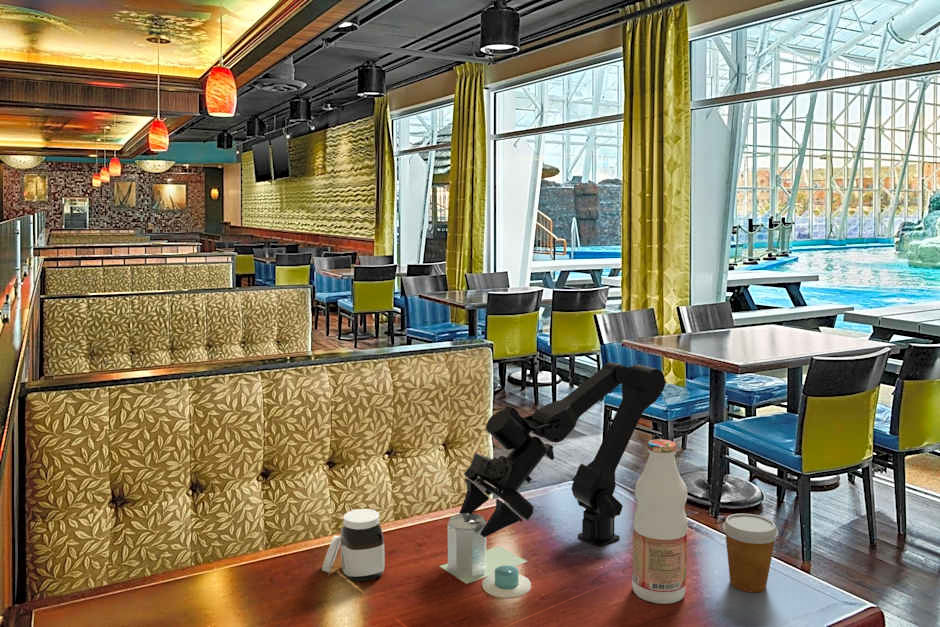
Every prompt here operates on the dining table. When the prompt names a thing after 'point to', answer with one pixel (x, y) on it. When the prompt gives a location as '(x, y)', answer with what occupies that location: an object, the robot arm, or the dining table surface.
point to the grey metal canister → (466, 545)
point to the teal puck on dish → (506, 583)
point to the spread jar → (359, 546)
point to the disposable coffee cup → (749, 550)
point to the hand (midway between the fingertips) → (470, 527)
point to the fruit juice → (660, 528)
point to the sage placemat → (494, 562)
